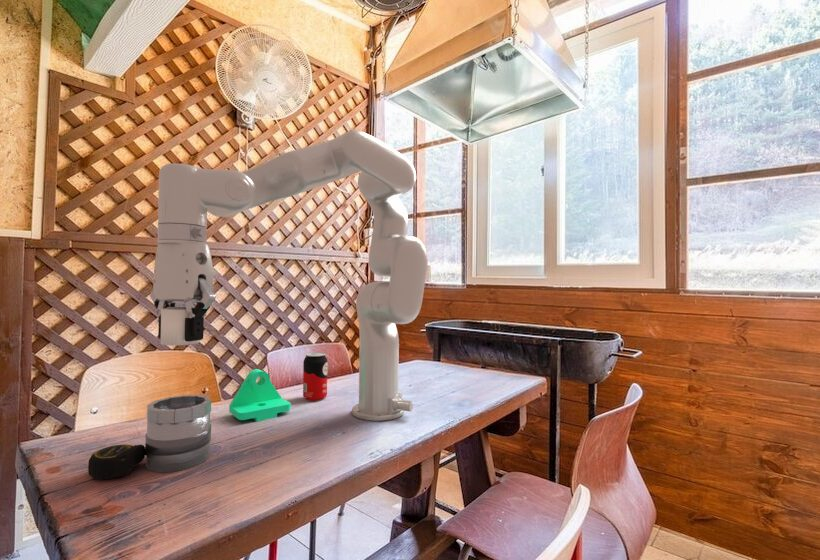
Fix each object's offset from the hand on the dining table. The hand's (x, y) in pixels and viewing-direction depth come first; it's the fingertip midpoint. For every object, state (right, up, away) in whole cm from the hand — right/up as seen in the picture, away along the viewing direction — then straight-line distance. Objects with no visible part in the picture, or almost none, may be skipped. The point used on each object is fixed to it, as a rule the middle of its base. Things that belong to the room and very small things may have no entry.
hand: (180, 338), depth 71 cm
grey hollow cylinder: (0, -21, 0) cm, 21 cm away
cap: (0, -1, 0) cm, 1 cm away
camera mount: (+5, -22, +24) cm, 33 cm away
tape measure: (-7, -22, -5) cm, 23 cm away
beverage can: (+15, -22, +38) cm, 46 cm away
